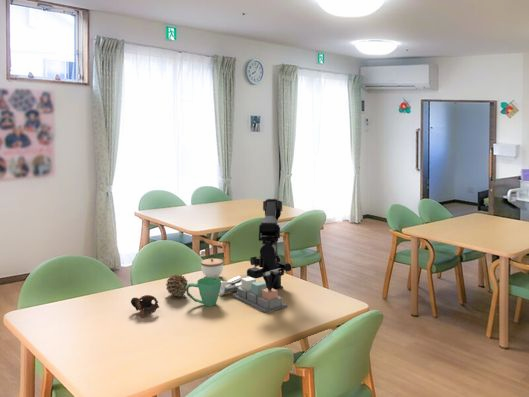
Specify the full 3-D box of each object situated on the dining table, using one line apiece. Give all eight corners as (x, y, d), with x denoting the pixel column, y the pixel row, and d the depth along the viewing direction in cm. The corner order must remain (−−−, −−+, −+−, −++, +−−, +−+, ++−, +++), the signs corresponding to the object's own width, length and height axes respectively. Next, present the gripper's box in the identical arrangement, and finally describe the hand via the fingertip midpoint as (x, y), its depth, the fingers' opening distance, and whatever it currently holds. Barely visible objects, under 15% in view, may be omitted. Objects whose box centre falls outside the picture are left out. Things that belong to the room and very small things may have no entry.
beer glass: (219, 296, 225) (248, 289, 233) (225, 295, 219) (255, 288, 227) (215, 281, 226) (245, 274, 234) (222, 279, 220) (252, 272, 228)
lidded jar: (198, 279, 245) (198, 260, 243) (204, 273, 255) (204, 254, 254) (220, 280, 243) (220, 261, 242) (225, 274, 253) (225, 255, 252)
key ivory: (250, 287, 223) (249, 276, 222) (256, 290, 219) (255, 279, 218) (241, 289, 220) (241, 278, 219) (247, 292, 216) (247, 281, 216)
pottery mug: (162, 309, 207) (163, 296, 202) (152, 327, 200) (152, 314, 195) (135, 301, 209) (135, 287, 204) (124, 318, 202) (123, 304, 197)
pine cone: (192, 299, 217) (192, 277, 216) (170, 303, 213) (169, 280, 212) (180, 284, 237) (179, 264, 236) (159, 287, 234) (158, 266, 232)
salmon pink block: (270, 299, 211) (270, 287, 210) (277, 302, 207) (277, 290, 207) (261, 301, 208) (261, 289, 208) (268, 304, 205) (268, 292, 204)
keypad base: (253, 291, 227) (253, 282, 226) (287, 306, 208) (287, 297, 207) (232, 296, 220) (232, 287, 220) (265, 313, 201) (265, 303, 201)
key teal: (260, 292, 217) (260, 280, 216) (266, 295, 213) (266, 283, 212) (251, 294, 214) (251, 282, 213) (257, 297, 210) (257, 285, 210)
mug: (219, 299, 218) (219, 276, 216) (223, 307, 208) (223, 283, 207) (185, 302, 214) (184, 279, 213) (187, 310, 205) (186, 286, 203)
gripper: (275, 245, 217) (275, 280, 219) (238, 252, 206) (239, 289, 208) (292, 250, 208) (292, 287, 210) (254, 258, 197) (255, 297, 199)
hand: (269, 290), depth 207 cm, fingers closed, pressing on salmon pink block
